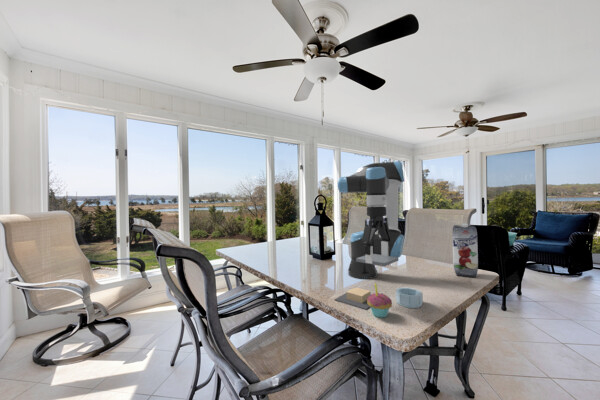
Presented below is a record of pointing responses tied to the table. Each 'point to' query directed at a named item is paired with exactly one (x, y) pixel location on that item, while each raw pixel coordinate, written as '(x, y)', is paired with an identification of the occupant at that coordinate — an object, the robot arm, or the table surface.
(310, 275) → the table surface
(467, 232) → the juice carton
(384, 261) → the sheet
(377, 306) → the cupcake
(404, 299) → the bowl
